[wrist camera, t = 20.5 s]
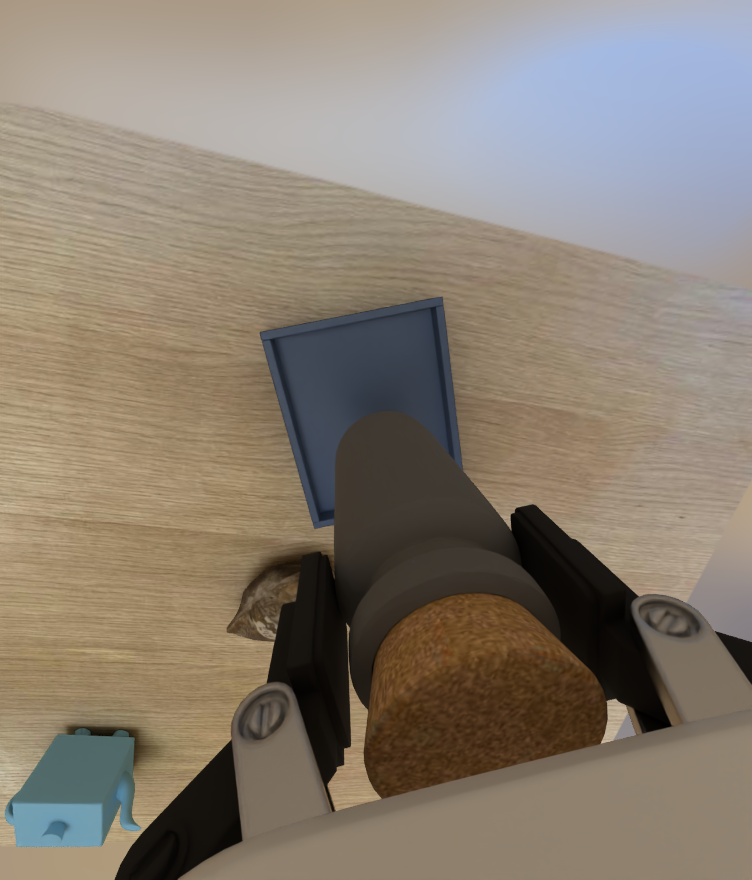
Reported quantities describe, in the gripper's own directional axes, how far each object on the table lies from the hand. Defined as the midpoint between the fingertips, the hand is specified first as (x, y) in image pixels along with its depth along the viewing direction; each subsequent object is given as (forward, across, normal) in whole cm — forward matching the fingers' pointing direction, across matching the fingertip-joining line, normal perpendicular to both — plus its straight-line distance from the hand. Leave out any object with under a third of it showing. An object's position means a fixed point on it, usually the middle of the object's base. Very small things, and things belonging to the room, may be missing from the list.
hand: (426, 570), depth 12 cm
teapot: (+20, +34, +30) cm, 50 cm away
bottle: (+10, 0, 0) cm, 10 cm away
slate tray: (+20, 0, 0) cm, 20 cm away
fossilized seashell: (+20, +11, +15) cm, 27 cm away
